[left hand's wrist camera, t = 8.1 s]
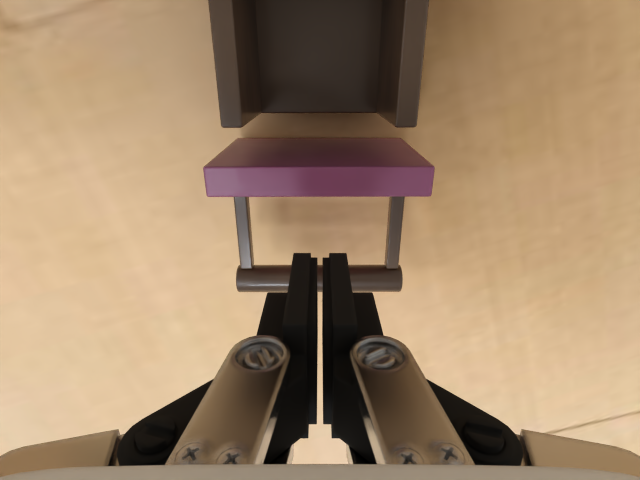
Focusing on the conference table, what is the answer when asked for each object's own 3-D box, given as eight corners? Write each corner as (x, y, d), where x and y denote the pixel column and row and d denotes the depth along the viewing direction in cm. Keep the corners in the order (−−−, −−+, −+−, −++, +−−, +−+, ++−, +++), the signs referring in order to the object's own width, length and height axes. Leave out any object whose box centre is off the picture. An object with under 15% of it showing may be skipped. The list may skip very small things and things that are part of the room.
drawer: (391, 258, 23) (416, 323, 17) (247, 258, 23) (222, 324, 17) (441, -342, 14) (537, -666, 8) (194, -342, 14) (96, -667, 8)
